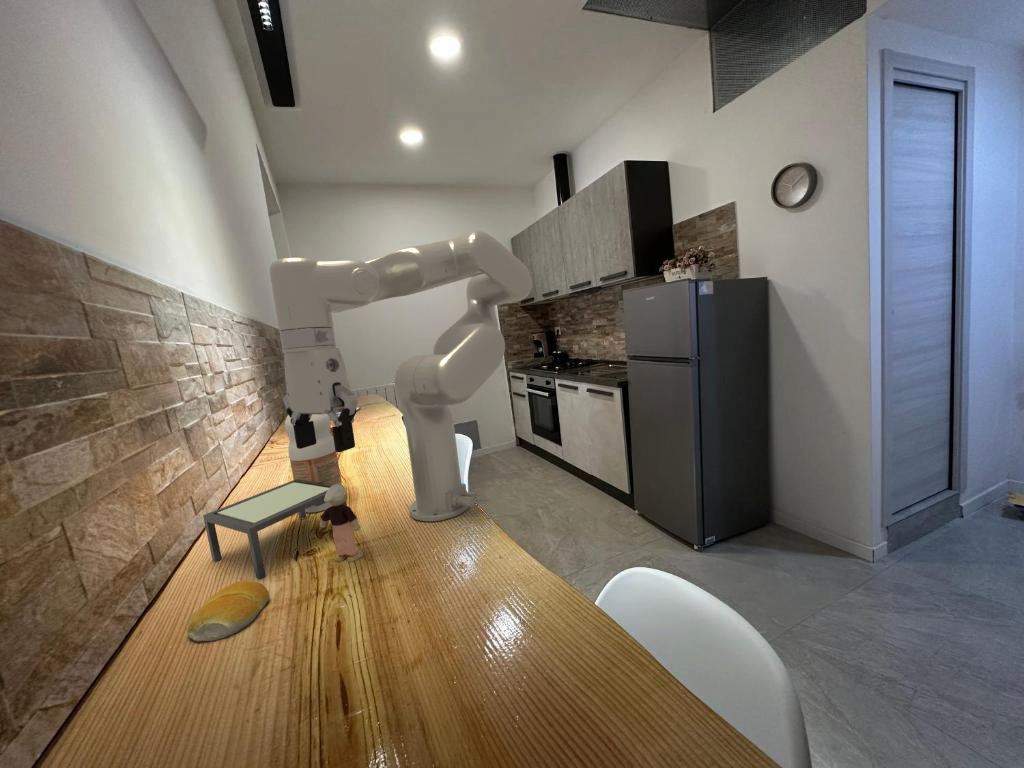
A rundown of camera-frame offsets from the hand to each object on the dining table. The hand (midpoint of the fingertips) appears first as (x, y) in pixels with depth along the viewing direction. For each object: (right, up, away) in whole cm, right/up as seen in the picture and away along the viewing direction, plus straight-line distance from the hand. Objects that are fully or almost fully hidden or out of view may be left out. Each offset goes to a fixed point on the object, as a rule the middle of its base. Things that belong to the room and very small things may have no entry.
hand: (325, 448), depth 62 cm
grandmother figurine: (+2, -19, +3) cm, 19 cm away
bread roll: (-8, -22, -10) cm, 25 cm away
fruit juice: (-14, -18, +27) cm, 35 cm away
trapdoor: (-13, -14, +9) cm, 21 cm away
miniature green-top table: (-12, -19, +10) cm, 25 cm away
